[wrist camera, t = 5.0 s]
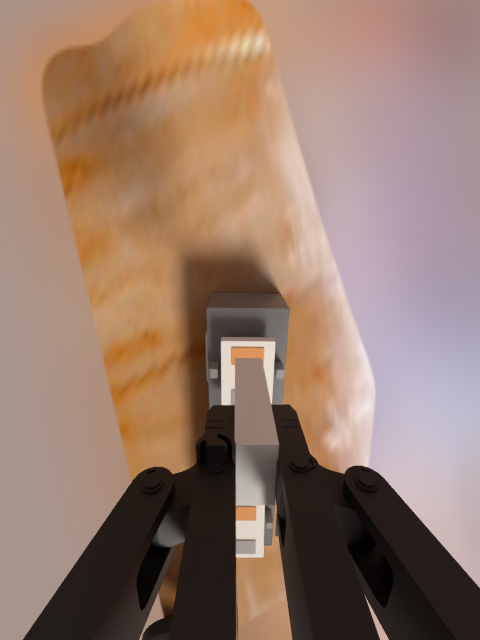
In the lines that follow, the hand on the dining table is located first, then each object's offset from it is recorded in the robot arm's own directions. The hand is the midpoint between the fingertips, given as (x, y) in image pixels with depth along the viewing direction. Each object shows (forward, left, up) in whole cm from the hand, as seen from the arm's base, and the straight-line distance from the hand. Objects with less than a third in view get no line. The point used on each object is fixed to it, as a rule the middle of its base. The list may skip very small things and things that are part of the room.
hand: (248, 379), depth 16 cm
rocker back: (-20, 0, -6) cm, 21 cm away
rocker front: (-3, 0, -6) cm, 6 cm away
